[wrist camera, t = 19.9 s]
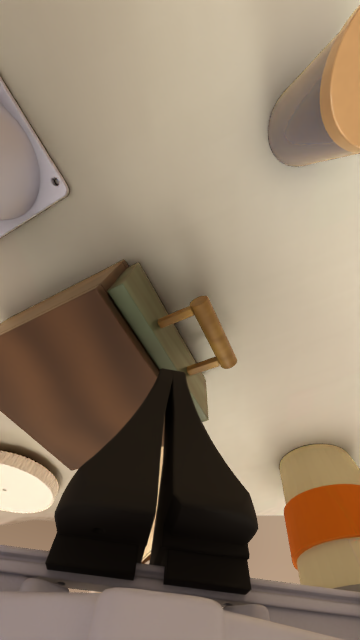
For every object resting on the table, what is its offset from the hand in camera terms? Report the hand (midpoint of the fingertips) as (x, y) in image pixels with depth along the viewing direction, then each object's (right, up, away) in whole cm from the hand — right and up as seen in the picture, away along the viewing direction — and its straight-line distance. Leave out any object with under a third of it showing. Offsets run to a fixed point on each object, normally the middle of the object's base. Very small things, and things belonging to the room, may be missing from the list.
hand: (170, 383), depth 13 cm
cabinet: (-7, 0, +11) cm, 13 cm away
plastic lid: (-24, -19, +23) cm, 39 cm away
